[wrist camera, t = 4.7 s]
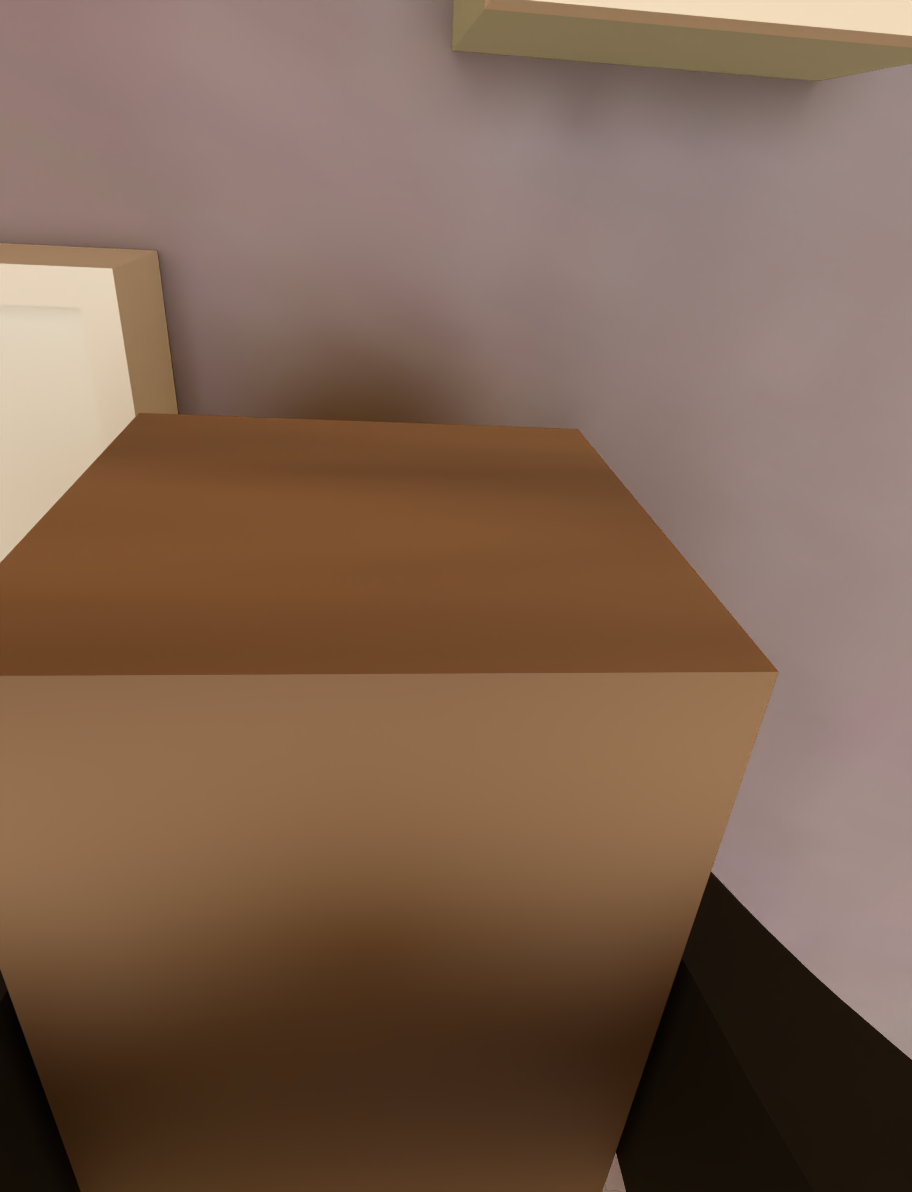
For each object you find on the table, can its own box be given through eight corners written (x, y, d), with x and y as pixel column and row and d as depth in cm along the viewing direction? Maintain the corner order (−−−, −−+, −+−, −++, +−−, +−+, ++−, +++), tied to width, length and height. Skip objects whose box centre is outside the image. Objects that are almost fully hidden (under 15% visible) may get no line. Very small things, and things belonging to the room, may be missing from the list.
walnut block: (502, 925, 13) (569, 1288, 9) (212, 939, 13) (133, 1337, 8) (577, 429, 9) (779, 670, 5) (139, 413, 8) (-106, 677, 4)
